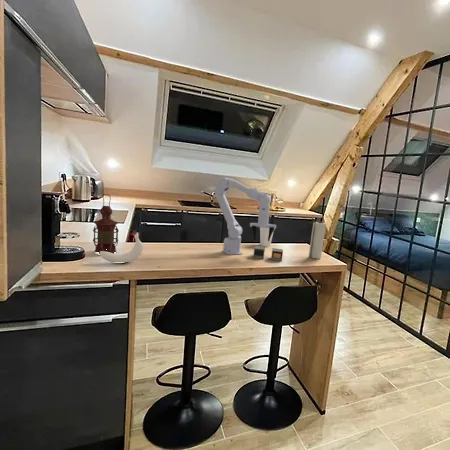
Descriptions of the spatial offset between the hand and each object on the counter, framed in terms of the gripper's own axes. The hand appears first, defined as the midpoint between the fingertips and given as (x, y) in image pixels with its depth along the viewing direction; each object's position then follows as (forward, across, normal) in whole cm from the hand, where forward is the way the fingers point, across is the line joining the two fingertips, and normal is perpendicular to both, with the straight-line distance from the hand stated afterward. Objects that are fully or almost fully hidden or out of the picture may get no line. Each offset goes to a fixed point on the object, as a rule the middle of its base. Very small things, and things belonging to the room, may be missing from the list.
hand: (261, 240), depth 171 cm
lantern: (+8, -79, -24) cm, 83 cm away
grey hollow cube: (+10, -1, 0) cm, 10 cm away
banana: (+9, -65, -37) cm, 76 cm away
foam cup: (+10, +4, +30) cm, 32 cm away
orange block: (+10, +9, -1) cm, 14 cm away
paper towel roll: (+11, +33, +13) cm, 37 cm away
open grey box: (+10, +9, -1) cm, 14 cm away
